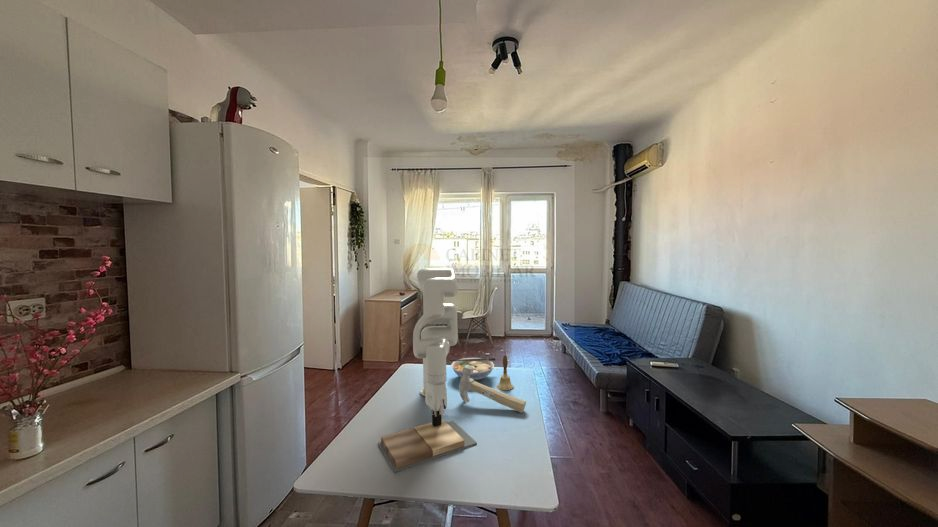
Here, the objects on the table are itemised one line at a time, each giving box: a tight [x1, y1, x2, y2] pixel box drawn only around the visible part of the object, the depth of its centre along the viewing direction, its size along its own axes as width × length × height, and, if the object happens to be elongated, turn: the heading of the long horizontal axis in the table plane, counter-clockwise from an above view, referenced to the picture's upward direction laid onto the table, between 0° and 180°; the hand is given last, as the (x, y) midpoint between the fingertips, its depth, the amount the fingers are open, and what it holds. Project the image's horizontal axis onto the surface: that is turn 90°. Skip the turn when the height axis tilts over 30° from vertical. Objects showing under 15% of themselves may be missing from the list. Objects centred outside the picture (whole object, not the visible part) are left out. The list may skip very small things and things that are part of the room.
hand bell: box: [496, 354, 515, 391], centre depth 171 cm, size 8×8×16 cm
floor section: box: [377, 420, 478, 473], centre depth 123 cm, size 18×30×3 cm, turn 120°
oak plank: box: [413, 418, 464, 456], centre depth 125 cm, size 17×12×2 cm
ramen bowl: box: [449, 357, 496, 382], centre depth 183 cm, size 25×23×8 cm
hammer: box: [458, 365, 527, 414], centre depth 151 cm, size 16×5×30 cm
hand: (436, 424), depth 131 cm, fingers closed
